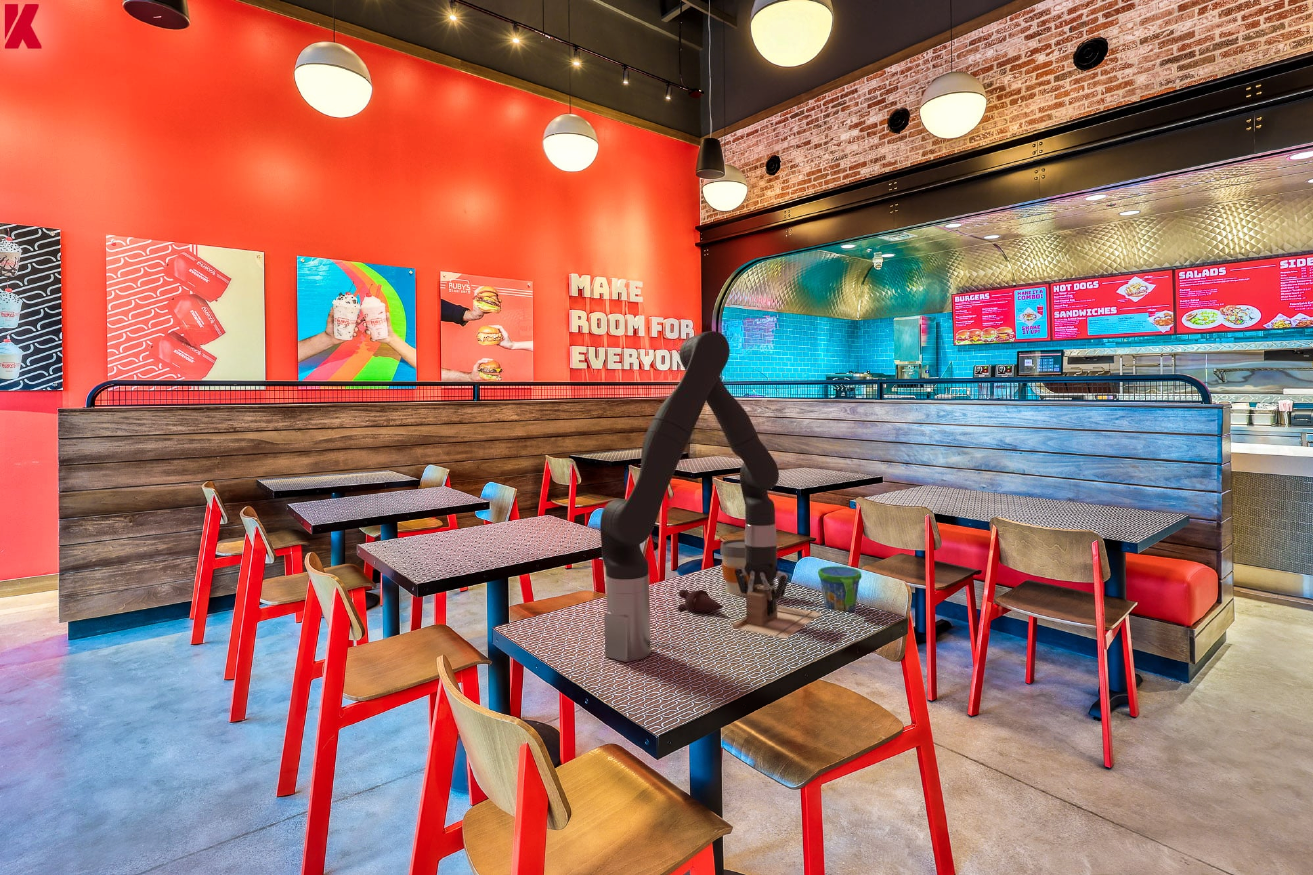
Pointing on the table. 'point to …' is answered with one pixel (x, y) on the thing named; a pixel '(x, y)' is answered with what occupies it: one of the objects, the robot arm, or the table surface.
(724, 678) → the table surface
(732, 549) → the reusable coffee cup
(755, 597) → the block
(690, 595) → the icecream
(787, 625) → the board
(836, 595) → the snack cup
